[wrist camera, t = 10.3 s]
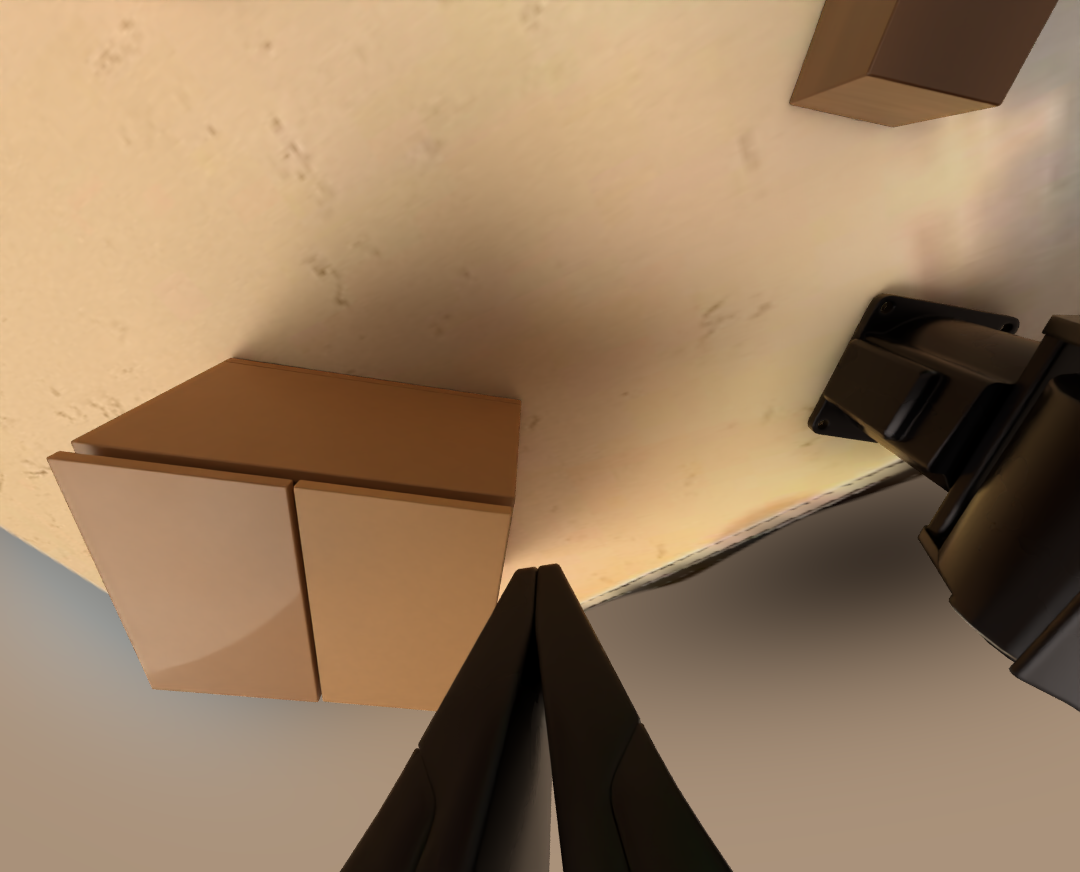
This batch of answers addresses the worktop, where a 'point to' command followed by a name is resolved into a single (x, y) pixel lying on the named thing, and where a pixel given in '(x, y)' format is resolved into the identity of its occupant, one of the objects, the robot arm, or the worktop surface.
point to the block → (917, 57)
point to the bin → (258, 506)
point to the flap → (396, 589)
